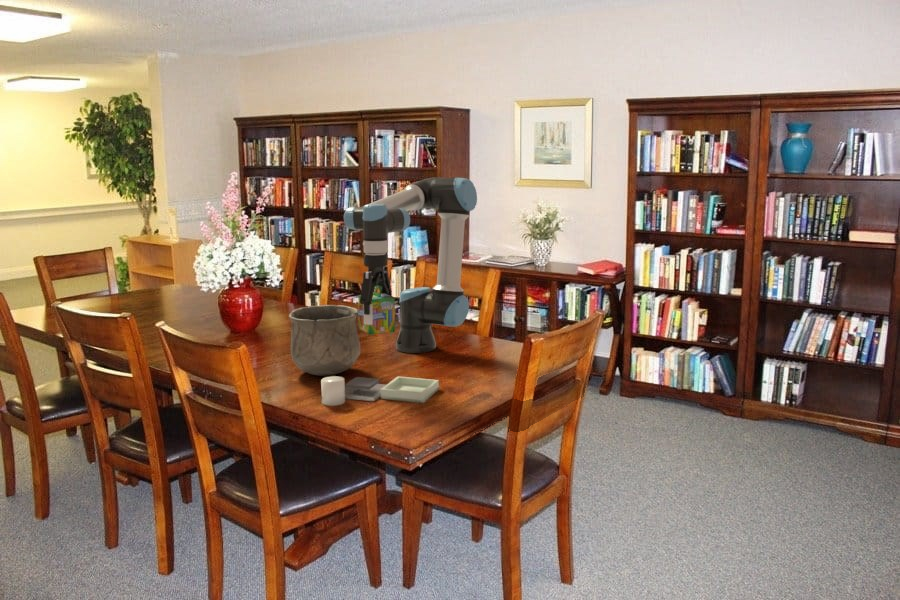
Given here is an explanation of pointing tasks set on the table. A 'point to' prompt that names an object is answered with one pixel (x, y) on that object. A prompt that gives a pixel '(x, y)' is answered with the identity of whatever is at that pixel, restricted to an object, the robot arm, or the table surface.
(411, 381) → the trough tray
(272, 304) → the table surface
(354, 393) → the checker base
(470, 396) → the table surface
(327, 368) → the pot
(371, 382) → the checker plate
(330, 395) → the white cylinder
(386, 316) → the chalk box
